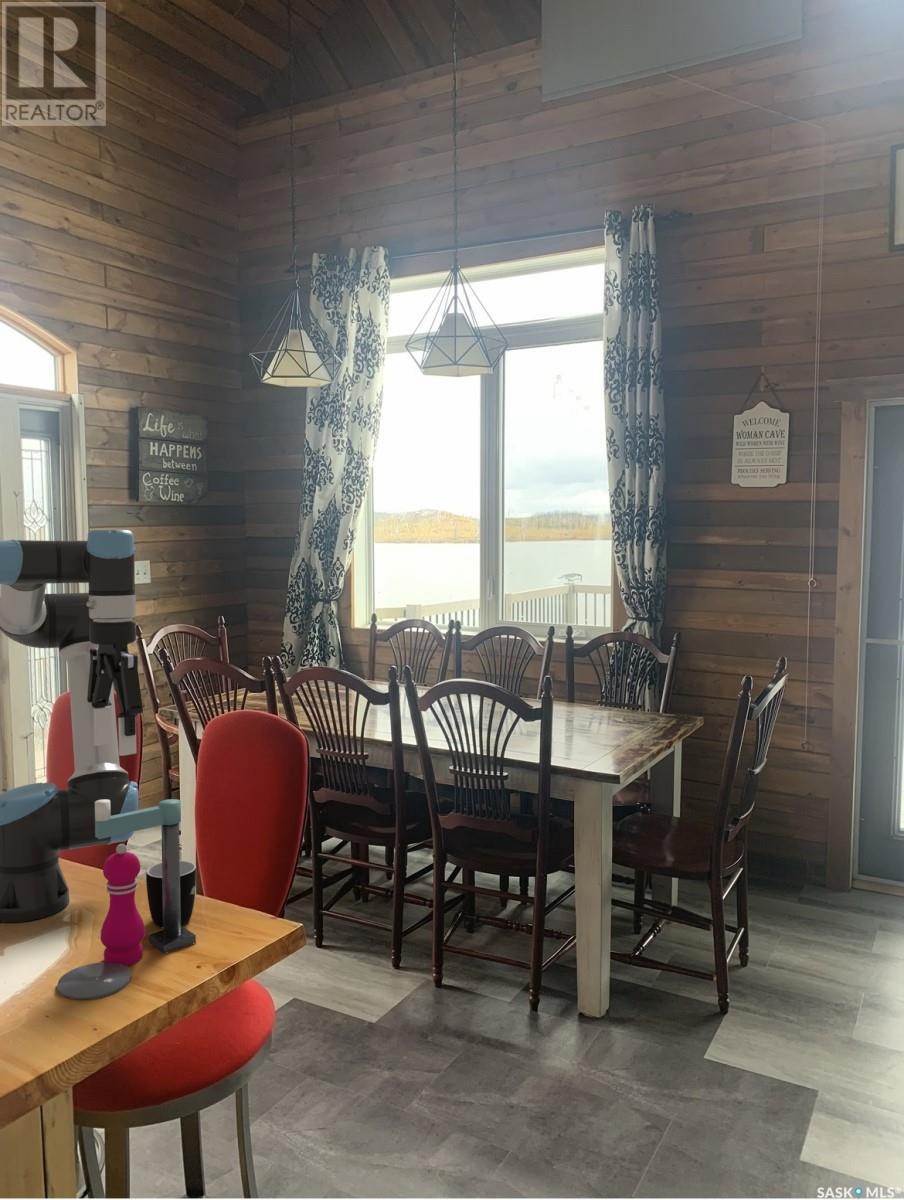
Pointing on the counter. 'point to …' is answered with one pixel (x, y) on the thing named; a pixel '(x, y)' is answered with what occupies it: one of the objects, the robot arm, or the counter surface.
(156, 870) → the mug
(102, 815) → the pegged blue crossbar
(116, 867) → the pepper mill
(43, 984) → the counter surface
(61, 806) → the robot arm
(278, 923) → the counter surface
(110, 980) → the slate coaster
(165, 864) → the post
